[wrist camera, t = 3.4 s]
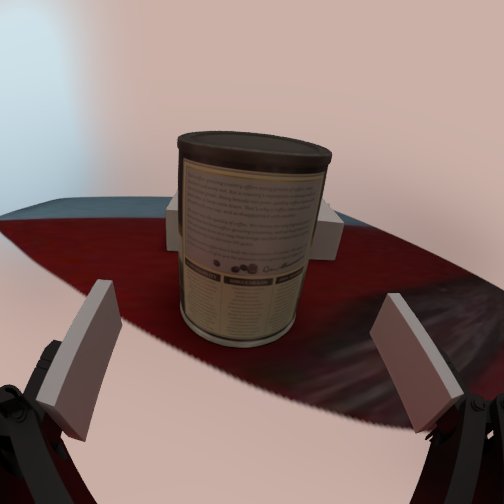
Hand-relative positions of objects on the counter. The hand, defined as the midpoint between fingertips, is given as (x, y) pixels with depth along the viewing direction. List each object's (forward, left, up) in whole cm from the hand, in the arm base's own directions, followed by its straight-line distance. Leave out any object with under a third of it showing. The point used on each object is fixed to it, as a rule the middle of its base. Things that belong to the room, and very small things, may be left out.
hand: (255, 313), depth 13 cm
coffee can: (+10, 0, -8) cm, 12 cm away
